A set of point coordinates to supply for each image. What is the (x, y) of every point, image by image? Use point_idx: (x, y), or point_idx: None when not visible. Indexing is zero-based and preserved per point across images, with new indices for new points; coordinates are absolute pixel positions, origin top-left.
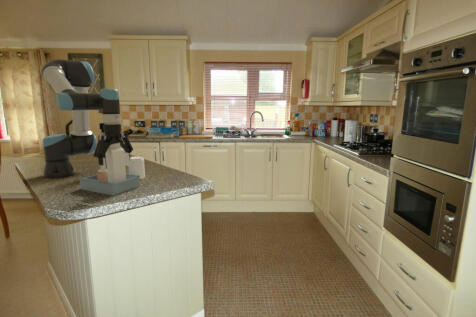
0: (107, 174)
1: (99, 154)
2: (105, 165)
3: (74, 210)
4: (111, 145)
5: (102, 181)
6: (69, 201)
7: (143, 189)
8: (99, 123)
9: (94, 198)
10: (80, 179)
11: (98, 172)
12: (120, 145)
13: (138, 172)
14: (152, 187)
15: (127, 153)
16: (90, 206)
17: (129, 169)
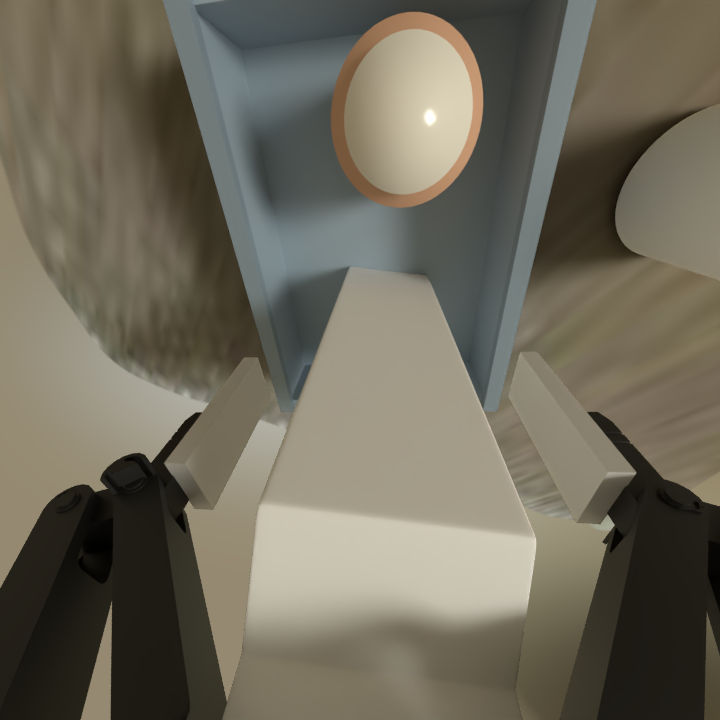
0: (335, 303)
1: (111, 562)
2: (245, 439)
3: (132, 367)
4: (310, 712)
5: (269, 334)
6: (125, 243)
7: None
8: None
9: (235, 313)
10: (177, 27)
11: (340, 123)
12: (597, 671)
13: (674, 263)
14: (488, 411)
15: (576, 512)
16: (189, 380)
17: (715, 169)
